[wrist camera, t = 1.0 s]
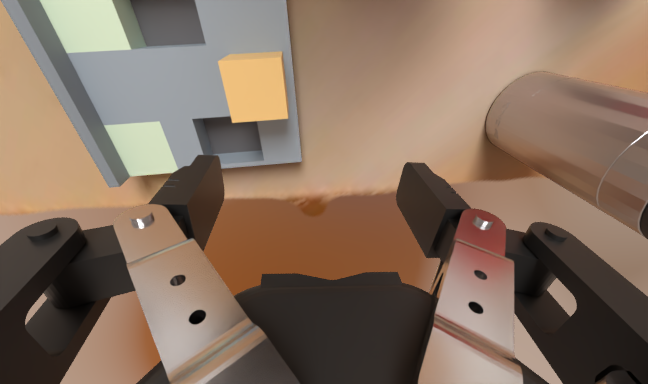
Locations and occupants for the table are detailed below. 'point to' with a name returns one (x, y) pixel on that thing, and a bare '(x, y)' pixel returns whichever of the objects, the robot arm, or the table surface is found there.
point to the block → (255, 86)
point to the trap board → (158, 79)
